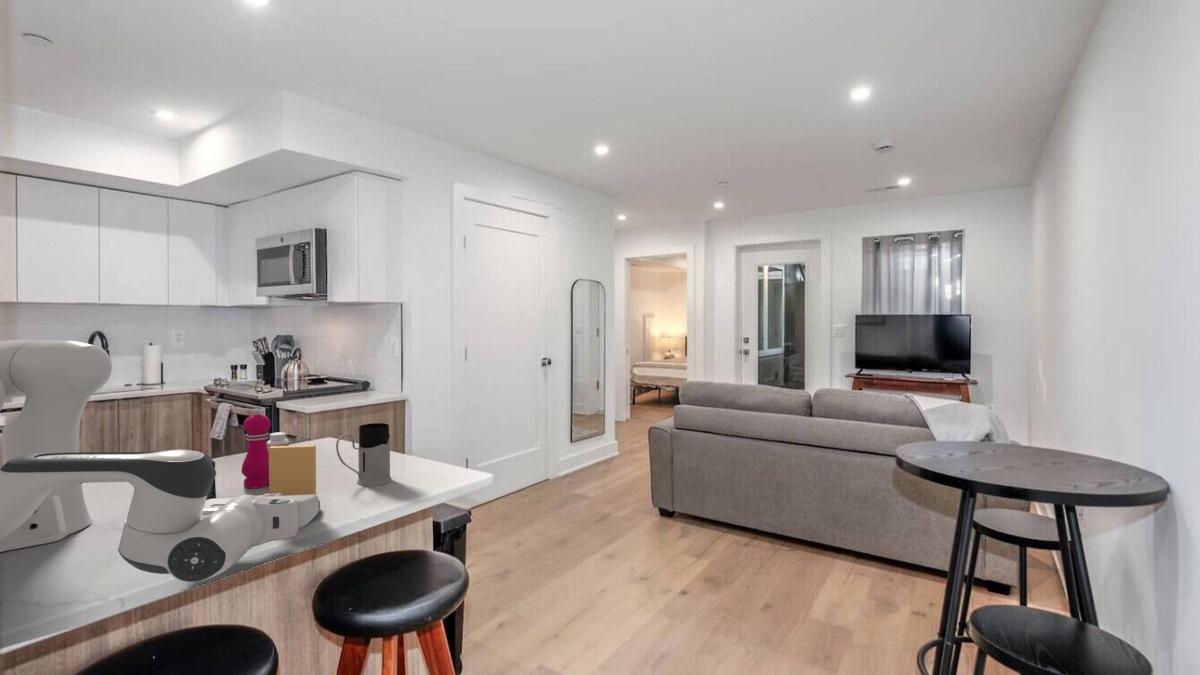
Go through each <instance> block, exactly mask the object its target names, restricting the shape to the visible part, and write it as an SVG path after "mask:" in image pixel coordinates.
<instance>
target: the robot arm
mask: <svg viewBox="0 0 1200 675" xmlns="http://www.w3.org/2000/svg"><path fill="white" fill-rule="evenodd" d="M112 370H113V364H112V359H111V357H110V355H109V354H108V352H107V351H106V350H105V349H103V348H102V347H100V346H98V345H95V344H91V343H87V342H81V341H78V340H57V339H56V340H50V339H48V340H45V339H39V340H38V339H36V340H35V339H34V340H33V339H6V340H0V411H2V409H3V407H4V405H5V402H7V401H9V400H12V399H15V398H21V397H25V399H24V401H23V402H24V403H23V406H22V408H21V410H20V412H19V414H18V415H17V416H16V417H14V418H12V419H10V420H9V421H8V422H6V423H5V425H4V427H3V428H2V431H1V438H2V442H1V443H2V446H1V447H2V466H1V467H0V553H2V552H6V551H11V550H17V549H18V550H19V549H23V548H28V547H29V548H30V547H32V546H39V545H44V544H49V543H55V542H58V541H61V540H62V539H65V538H66V537H67V536H69V535H71V534H73V533H77V532H79V531H81V530H82V529H84V528H87V527H88V526H90V525H91V524H92V522H93V520H92V518H91V516H90V514H89V511H88V508H87V504H86V501H85V496H84V492H83V483H85V484H86V483H87V484H88V483H94V484H95V483H129V484H131V485H132V487H133V493H132V496H131V501H130V505H129V508H128V513H127V515H126V518H125V521H124V525H123V528H122V532H121V536H120V540H119V545H118V548H117V550H118V553H119V555H120V556H121V558H122V559H123V560H124V561H126V563H127V564H129V565H130V566H132V567H133V568H135V569H137V570H138V571H139V570H140V571H143V572H147V573H150V574H151V573H152V574H160V575H171V576H172V577H173V578H174V579H176V580H178V581H182V582H186V583H199V582H204V581H207V580H210V579H212V578H214V577H217V576H218V575H220V574H222V573H224V572H226V571H227V570H228V569H230V568H231V567H233V566H234V565H235V564H236V563H237V562H238V561H239V560H240V559H241V558H243V557H244V556H245V554H246V553H247V552H248V551H249V550H250V549H252V548H254V547H258V546H260V545H263V544H266V543H270V542H274V541H279V540H284V539H290V538H293V537H295V536H296V535H297V534H298V530H299V529H301V528H303V527H306V525H308V524H310V523H311V522H312V521H311V520H312V519H313V518H314V517H315V516H316V515H317V513H318V509H319V501H320V500H318V499H319V496H318V495H317V494H316V495H315V494H310V495H287V496H282V494H281V493H272V494H269V493H264V494H262V495H263V496H260V495H252V494H243V495H242V494H241V495H238V496H236V497H221V498H220V497H218V498H217V497H216V498H213V499H208V500H206V498H207V495H208V494H209V492H210V489H211V486H212V484H213V481H214V479H215V480H216V476H217V471H216V468H215V469H214V467H213V465H212V463H211V462H210V461H209V459H208V458H207V457H206V456H205V455H204V454H205V453H202V452H201V451H196V450H190V449H169V450H166V449H165V450H154V451H118V452H117V451H107V452H105V451H101V452H99V451H97V452H96V451H88V452H87V451H83V452H82V451H81V452H80V432H81V431H80V429H81V428H80V427H81V420H82V415H83V412H84V410H85V408H86V405H87V404H88V401H89V400H90V398H91V397H92V396H93V395H94V393H96V392H97V391H98V390H99V389H101V388H102V387H103V386H105V384H106V383H107V382H108V381H109V379H110V378H111V375H112V372H113V371H112ZM257 496H259V497H257ZM310 521H311V522H310ZM309 522H310V523H309Z"/></svg>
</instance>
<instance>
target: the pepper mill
mask: <svg viewBox="0 0 1200 675" xmlns="http://www.w3.org/2000/svg"><path fill="white" fill-rule="evenodd" d="M252 413H253V415H250V416H248V417H247V418H246V419H245V420H244V422H243V430H244V431H245V432H246V433H247V434H245V436H246V439H245V440H246V441H247V443H248V445H247V447H248V448H247V453H246V455H245V457H244V460H243V462H242V465H241V473H242V475H243V476H244V477H245V478H244V479H243V487H244V488H245V487H246V489H258V488H257V487H261V488H264V487H263V486H265V487H268V486H269V452H268V449H267V442H268V438H269V439H270V433H269V432H268V430H269V429H270V428H271V424H272V423H271V420H270V418H269V417H268V416H267V415H264V414H261V413H262V410H261V409H259V408H255V409H253V411H252ZM267 485H268V486H267ZM255 487H256V488H255Z"/></svg>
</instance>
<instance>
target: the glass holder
mask: <svg viewBox="0 0 1200 675" xmlns="http://www.w3.org/2000/svg"><path fill="white" fill-rule="evenodd" d="M344 437H349V438H350V439H351V442H352V448H353V450H358V451H357V453H358V457H357V458H358V471H357V470H356V469H354V468H353V467H350V466H349V465H348V464H347V463H346V462H345V461H344V460H343V458H342V456H341V454H340V451H339V441H340V440H341V439H342V438H344ZM390 439H391V435H390V424H389V423H383V422H382V423H380V422H379V423H378V422H377V423H374V422H373V423H366V424H361V425H359V426H358V446H357V447H355V446H356V445H355V439H354V437H353V436H352V435H350V434H343V435H340V436H339V437H338V438H337V439H336V443H335V448H336V454H337V457H338V459H339V460H340V462H341V464H343V465H344V466H345V467H346V468H348V469H349V470H351V471H353V472H355V473H356V474H357V475H358V476H357V477H358V479H357V481H356V484H357V485H358V486H362V487H377V486H376V485H378V486H383V485H386V484H389V483H391V482H392V481H393V478H392V477H391V440H390ZM391 480H392V481H391ZM390 481H391V482H390ZM388 482H389V483H388ZM385 483H386V484H385ZM382 484H383V485H382Z"/></svg>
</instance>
